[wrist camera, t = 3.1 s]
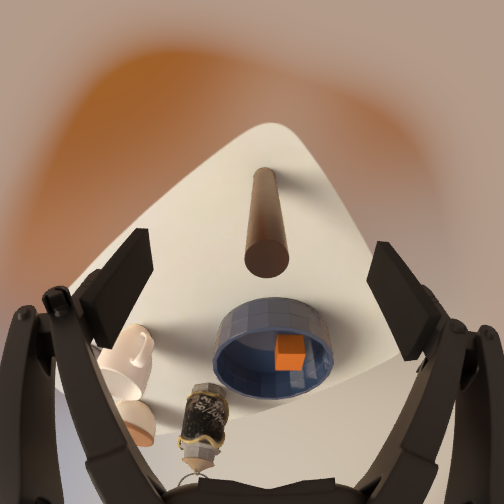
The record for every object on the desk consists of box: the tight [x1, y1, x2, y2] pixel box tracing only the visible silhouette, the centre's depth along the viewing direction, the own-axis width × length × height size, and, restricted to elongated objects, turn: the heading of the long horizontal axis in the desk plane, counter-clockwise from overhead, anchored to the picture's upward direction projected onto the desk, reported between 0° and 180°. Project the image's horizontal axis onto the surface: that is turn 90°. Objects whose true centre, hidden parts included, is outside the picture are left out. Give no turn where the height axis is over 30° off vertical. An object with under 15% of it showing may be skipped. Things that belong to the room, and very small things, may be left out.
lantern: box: [178, 383, 229, 487], centre depth 40 cm, size 9×8×25 cm
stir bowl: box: [212, 298, 334, 400], centre depth 40 cm, size 17×17×6 cm
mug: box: [97, 324, 154, 401], centre depth 38 cm, size 12×8×11 cm
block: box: [275, 334, 306, 371], centre depth 41 cm, size 4×4×4 cm
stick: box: [244, 168, 289, 278], centre depth 23 cm, size 2×2×18 cm
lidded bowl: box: [115, 400, 156, 447], centre depth 52 cm, size 13×13×11 cm
